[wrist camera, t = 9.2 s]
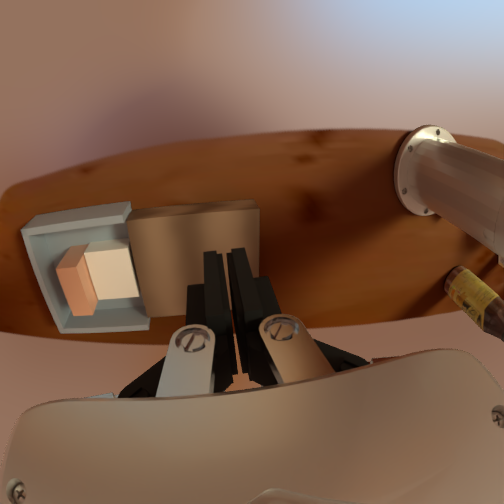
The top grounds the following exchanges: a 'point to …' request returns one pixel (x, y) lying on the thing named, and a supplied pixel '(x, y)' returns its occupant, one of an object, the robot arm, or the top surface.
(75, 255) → the terracotta tile
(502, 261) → the candy box
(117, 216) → the tray
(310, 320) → the top surface
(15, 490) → the robot arm
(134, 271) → the cream tile
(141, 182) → the top surface
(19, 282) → the top surface
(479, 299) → the sauce bottle
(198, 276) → the walnut board
